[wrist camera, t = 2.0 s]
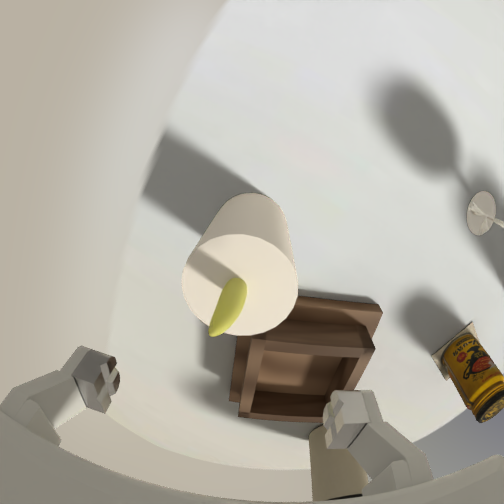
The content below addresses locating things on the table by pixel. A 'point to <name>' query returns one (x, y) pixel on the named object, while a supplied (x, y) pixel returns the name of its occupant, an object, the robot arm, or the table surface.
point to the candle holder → (303, 360)
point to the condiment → (472, 374)
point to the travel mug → (333, 470)
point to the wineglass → (482, 213)
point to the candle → (242, 269)
